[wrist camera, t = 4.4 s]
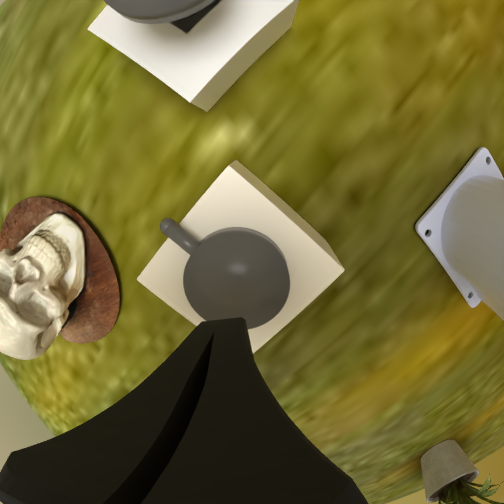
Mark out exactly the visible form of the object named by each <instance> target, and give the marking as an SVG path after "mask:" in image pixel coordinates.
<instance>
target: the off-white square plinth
mask: <svg viewBox="0 0 504 504" xmlns="http://www.w3.org/2000/svg"><path fill="white" fill-rule="evenodd" d="M179 225H180V226H181V227H183V228H184V229H185V230H186V231H187V232H189V233H190V234H191V235H192V236H193V237H195V238H196V239H197V240H198V241H199V242H200V241H201V240H202V239H204V238H205V237H206V236H207V235H209V234H211V233H213V232H215V231H217V230H220V229H224V228H229V227H244V228H249V229H253V230H256V231H258V232H261V233H263V234H264V235H266V236H267V237H269V238H270V239H271V240H273V241H274V242H275V243H276V244H277V246H278V247H279V248H280V250H281V251H282V253H283V255H284V257H285V259H286V262H287V267H288V271H289V276H290V291H289V296H288V298H287V301H286V303H285V305H284V307H283V308H282V310H281V311H280V312H279V313H278V314H277V315H276V316H275V317H274V318H273V319H272V320H270V321H269V322H267V323H266V324H263V325H261V326H259V327H256V328H253V329H248V333H249V338H250V343H251V347H252V352H253V353H254V352H256V351H257V350H258V349H259V348H260V347H262V346H263V345H264V344H265V343H266V342H267V341H268V340H270V339H271V338H272V337H273V336H274V335H275V334H276V333H278V332H279V331H280V330H281V329H282V328H283V327H284V326H286V325H287V324H288V323H289V322H290V321H291V320H292V319H293V318H294V317H296V316H297V315H298V314H299V313H300V312H301V311H302V310H303V309H304V308H305V307H307V306H308V305H309V304H310V303H311V302H312V301H313V300H314V299H315V298H316V297H317V296H318V295H319V294H321V293H322V292H323V291H324V290H325V289H326V288H327V287H328V286H329V285H330V284H331V283H332V282H333V281H334V280H335V279H336V278H337V277H338V276H339V275H340V274H341V273H342V272H344V271H345V270H344V268H343V266H342V265H341V263H340V262H339V260H338V258H337V257H336V255H335V254H334V252H333V250H332V249H331V247H330V246H329V244H328V243H327V241H326V240H325V239H324V238H323V237H322V236H321V235H320V234H319V233H318V232H317V231H316V230H315V229H314V228H313V227H311V226H310V225H309V224H308V223H307V222H306V221H305V220H304V219H303V218H302V217H301V216H300V215H299V214H297V213H296V212H295V211H294V210H293V209H292V208H291V207H290V206H289V205H288V204H286V203H285V202H284V201H283V200H282V199H281V198H280V197H279V196H278V195H276V194H275V193H274V192H273V191H272V190H271V189H270V188H269V187H267V186H266V185H265V184H264V183H263V182H262V181H261V180H260V179H258V178H257V177H256V176H255V175H254V174H253V173H252V172H250V171H249V170H248V169H247V168H246V167H245V166H243V165H242V164H241V163H240V162H239V161H238V160H235V161H234V162H232V163H231V164H230V165H228V167H227V168H226V169H225V170H224V171H223V172H222V173H221V175H220V176H219V177H218V178H217V179H216V180H215V182H214V183H213V184H212V185H211V186H210V187H209V189H208V190H207V191H206V192H205V193H204V195H203V196H202V197H201V198H200V199H199V200H198V202H197V203H196V204H195V205H194V207H193V208H192V209H191V210H190V211H189V213H188V214H187V215H186V216H185V218H184V219H183V220H182V221H181V222H180V224H179ZM189 257H190V255H189V254H188V253H187V252H186V251H184V250H183V249H182V248H181V247H179V246H178V245H177V244H176V243H175V242H173V241H172V240H171V239H170V238H168V239H167V240H166V241H165V243H164V244H163V245H162V246H161V248H160V249H159V250H158V252H157V253H156V254H155V256H154V257H153V258H152V259H151V261H150V262H149V263H148V265H147V266H146V267H145V269H144V270H143V271H142V273H141V274H140V275H139V277H138V278H137V279H136V280H138V281H139V282H140V283H141V284H143V285H144V286H145V287H146V288H148V289H149V290H150V291H151V292H153V293H154V294H155V295H156V296H158V297H159V298H160V299H161V300H163V301H164V302H165V303H167V304H168V305H169V306H171V307H172V308H173V309H174V310H176V311H177V312H178V313H180V314H181V315H182V316H184V317H185V318H186V319H188V320H189V321H190V322H192V323H193V324H194V325H196V326H198V325H199V324H200V323H201V322H202V321H206V320H204V319H203V318H202V317H201V316H199V315H198V314H197V313H196V312H195V311H194V309H193V308H192V307H191V305H190V303H189V302H188V300H187V297H186V295H185V292H184V287H183V274H184V269H185V266H186V263H187V261H188V259H189Z"/></svg>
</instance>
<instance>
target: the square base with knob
mask: <svg viewBox="0 0 504 504" xmlns="http://www.w3.org/2000/svg"><path fill="white" fill-rule="evenodd" d="M298 2H299V0H214V1H213V2H212V3H211V4H209V5H208V6H206V7H205V8H203V9H202V10H200V11H199V12H198V13H197V14H196V15H194V16H192V17H188V18H182V19H179V20H176V21H172V22H168V23H161V24H143V23H137V22H134V21H130V20H128V19H126V18H124V17H123V16H122V15H120V14H119V13H118V12H116V11H115V10H114V9H112V8H111V7H110V6H109V5H107V6H106V8H105V9H104V10H103V11H102V12H101V13H100V14H99V16H98V17H97V18H96V19H95V20H94V22H93V23H92V24H91V25H90V26H89V28H88V30H89V31H91V32H92V33H94V34H96V35H97V36H99V37H100V38H102V39H103V40H105V41H106V42H108V43H109V44H111V45H112V46H114V47H115V48H116V49H118V50H119V51H121V52H122V53H124V54H125V55H127V56H128V57H129V58H131V59H132V60H134V61H135V62H136V63H138V64H139V65H141V66H142V67H143V68H145V69H146V70H148V71H149V72H150V73H152V74H153V75H154V76H156V77H157V78H158V79H160V80H161V81H163V82H164V83H165V84H167V85H168V86H169V87H170V88H172V89H173V90H174V91H176V92H177V93H178V94H180V95H181V96H182V97H184V98H185V99H186V100H187V101H189V102H190V103H192V104H194V105H195V106H197V107H199V108H201V109H203V110H204V111H206V112H208V111H209V110H210V109H211V108H212V107H213V105H214V104H215V103H216V102H217V101H218V100H219V99H220V98H221V97H222V95H223V94H224V93H225V92H226V91H227V90H228V89H229V88H230V87H231V86H232V85H233V84H234V83H235V82H236V81H237V79H238V78H239V77H240V76H241V75H242V74H243V73H244V72H245V71H246V70H247V69H248V68H249V67H250V66H251V65H252V64H253V63H254V62H255V61H256V60H257V59H258V58H259V57H260V56H261V55H262V54H263V53H264V52H265V51H266V50H267V49H269V48H270V47H271V46H272V45H273V44H274V43H275V42H276V41H277V40H278V39H279V38H280V37H281V36H282V35H284V34H285V33H286V32H287V31H288V30H289V29H290V28H291V26H292V23H293V19H294V16H295V13H296V9H297V6H298Z"/></svg>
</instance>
